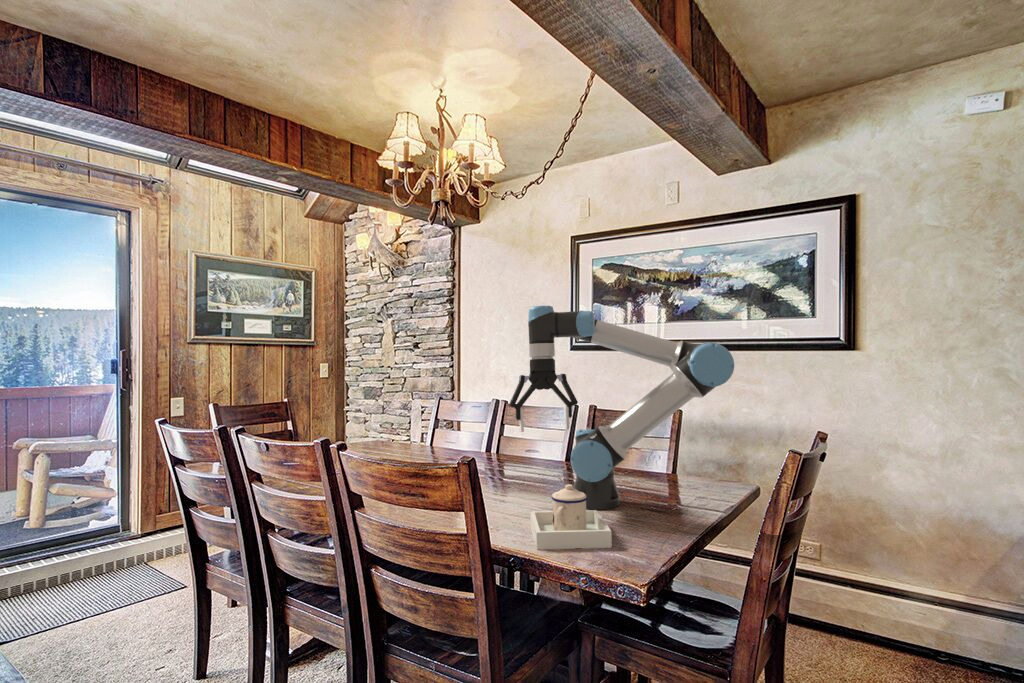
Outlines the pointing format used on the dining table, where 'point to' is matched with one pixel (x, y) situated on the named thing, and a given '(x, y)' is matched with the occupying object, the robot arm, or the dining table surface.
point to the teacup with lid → (569, 509)
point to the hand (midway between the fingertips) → (544, 430)
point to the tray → (570, 532)
